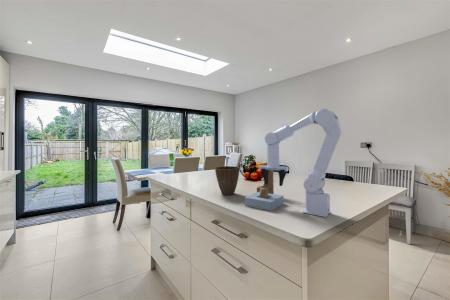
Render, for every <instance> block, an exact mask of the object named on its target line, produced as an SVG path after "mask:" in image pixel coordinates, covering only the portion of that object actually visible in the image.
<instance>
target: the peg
mask: <svg viewBox="0 0 450 300" xmlns="http://www.w3.org/2000/svg"><path fill="white" fill-rule="evenodd" d="M260 198H266V199H268V188H260Z"/></svg>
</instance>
